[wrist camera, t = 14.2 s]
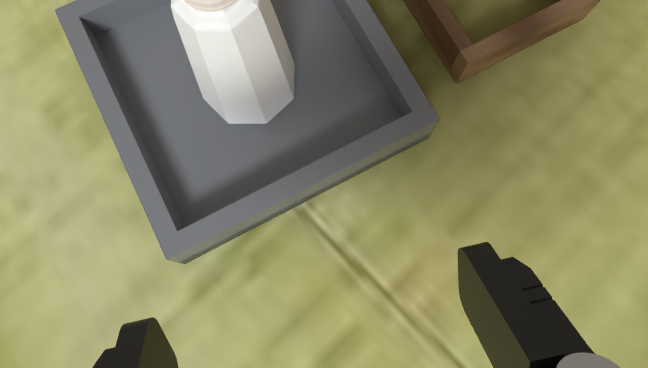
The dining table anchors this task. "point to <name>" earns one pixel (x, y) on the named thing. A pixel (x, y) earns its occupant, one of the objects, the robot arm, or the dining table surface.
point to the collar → (472, 58)
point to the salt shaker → (237, 57)
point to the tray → (243, 139)
